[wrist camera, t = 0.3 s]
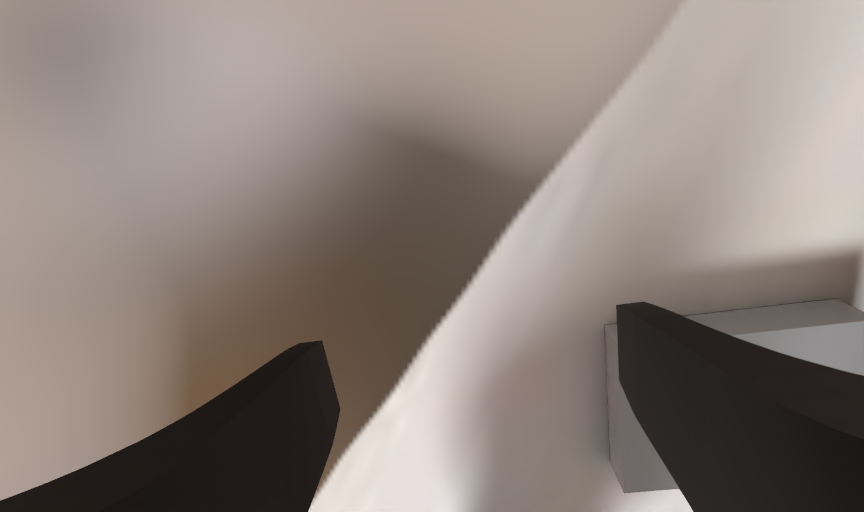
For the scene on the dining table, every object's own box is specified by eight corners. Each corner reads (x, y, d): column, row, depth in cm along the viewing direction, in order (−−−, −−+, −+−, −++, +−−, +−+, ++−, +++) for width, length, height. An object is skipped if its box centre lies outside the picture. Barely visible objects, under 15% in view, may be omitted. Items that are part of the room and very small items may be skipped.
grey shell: (815, 443, 22) (849, 475, 20) (609, 461, 23) (623, 492, 21) (836, 298, 19) (877, 319, 18) (604, 325, 20) (620, 347, 18)
